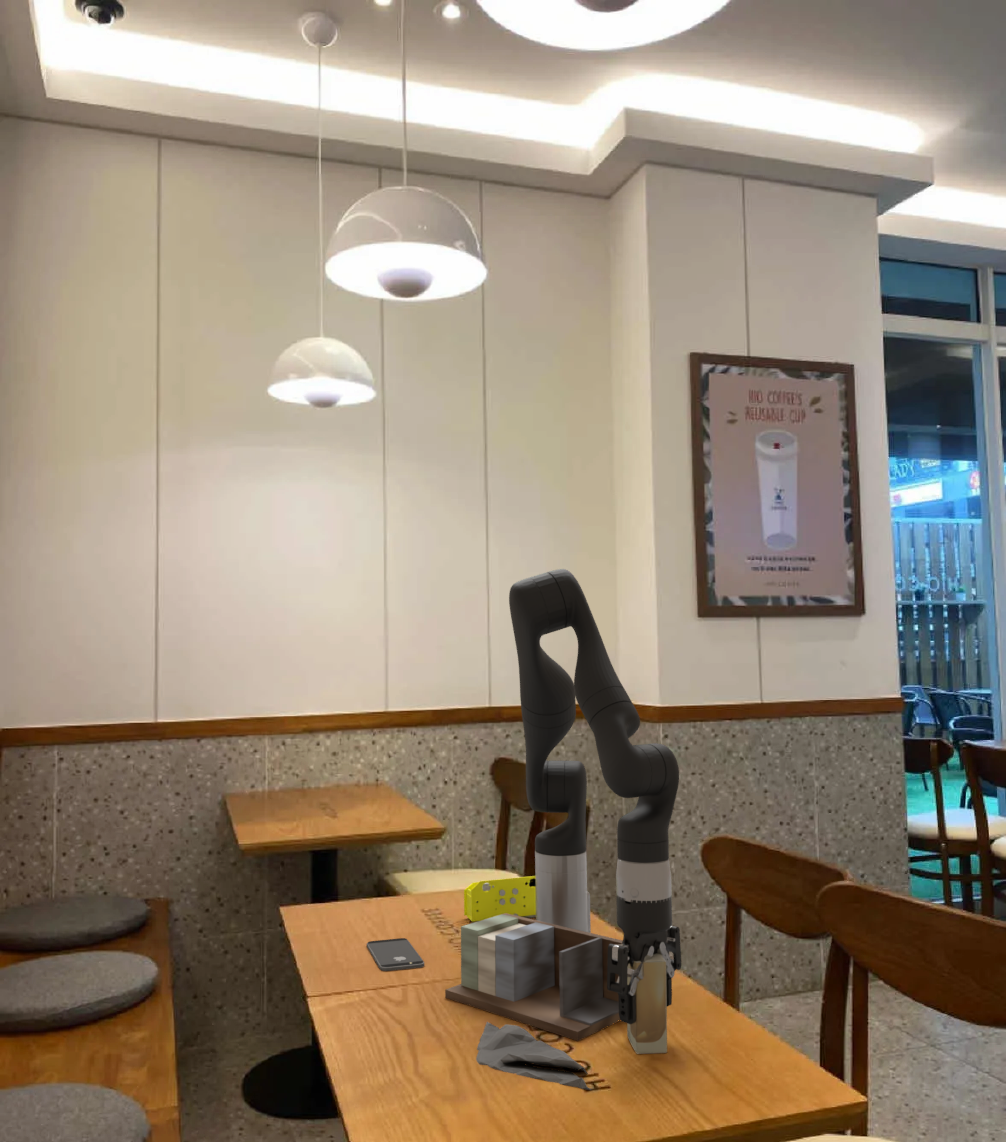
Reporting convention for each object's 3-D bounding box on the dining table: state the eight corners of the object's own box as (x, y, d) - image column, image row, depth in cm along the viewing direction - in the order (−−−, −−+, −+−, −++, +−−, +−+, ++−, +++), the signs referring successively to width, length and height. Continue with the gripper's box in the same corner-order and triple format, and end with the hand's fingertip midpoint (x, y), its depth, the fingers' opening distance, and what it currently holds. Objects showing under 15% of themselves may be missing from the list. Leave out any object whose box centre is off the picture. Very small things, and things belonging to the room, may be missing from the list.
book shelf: (506, 975, 167) (505, 911, 167) (636, 1012, 149) (635, 942, 150) (445, 997, 156) (445, 930, 157) (577, 1041, 139) (576, 964, 140)
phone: (365, 947, 184) (381, 974, 169) (365, 941, 184) (381, 968, 169) (406, 943, 187) (425, 969, 171) (406, 937, 187) (425, 963, 171)
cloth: (450, 1031, 145) (450, 1014, 145) (540, 1019, 149) (540, 1003, 149) (507, 1110, 120) (506, 1090, 120) (613, 1093, 124) (612, 1074, 124)
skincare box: (626, 1037, 140) (624, 946, 141) (657, 1035, 141) (655, 945, 141) (636, 1055, 134) (634, 961, 135) (668, 1054, 134) (666, 959, 135)
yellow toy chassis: (472, 926, 196) (472, 882, 197) (463, 919, 202) (463, 876, 202) (548, 918, 202) (548, 875, 202) (538, 911, 207) (537, 869, 208)
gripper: (650, 878, 146) (652, 993, 145) (590, 897, 136) (592, 1021, 135) (695, 886, 141) (698, 1006, 140) (636, 906, 131) (638, 1035, 130)
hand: (646, 1013), depth 137 cm, fingers open, 8 cm apart
